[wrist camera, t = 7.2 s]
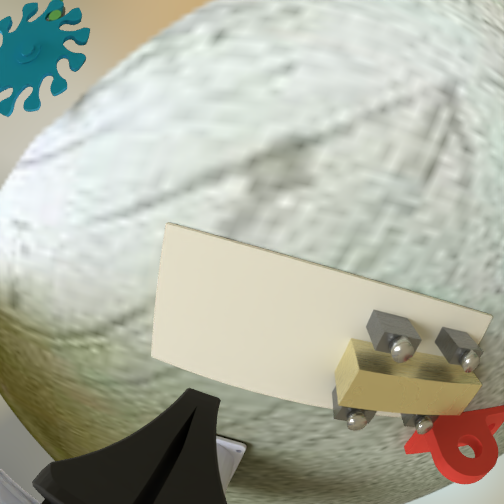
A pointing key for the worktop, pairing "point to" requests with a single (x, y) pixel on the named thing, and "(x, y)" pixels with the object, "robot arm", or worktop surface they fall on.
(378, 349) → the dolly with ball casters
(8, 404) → the worktop surface
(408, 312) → the mat
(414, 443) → the bracket
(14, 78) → the gear
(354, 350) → the sanding block
